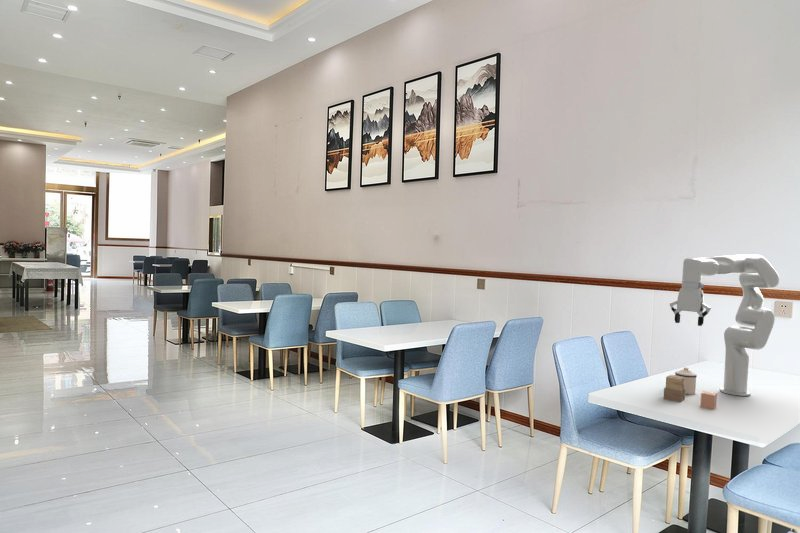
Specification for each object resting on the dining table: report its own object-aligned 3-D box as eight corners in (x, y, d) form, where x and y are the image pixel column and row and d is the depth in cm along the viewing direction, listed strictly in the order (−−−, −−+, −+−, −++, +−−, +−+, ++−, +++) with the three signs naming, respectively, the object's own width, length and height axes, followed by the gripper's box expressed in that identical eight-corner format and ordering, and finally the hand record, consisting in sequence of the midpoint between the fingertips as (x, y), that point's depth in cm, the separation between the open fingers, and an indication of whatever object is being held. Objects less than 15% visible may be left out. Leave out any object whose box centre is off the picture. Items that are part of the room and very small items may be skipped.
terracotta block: (702, 404, 237) (703, 391, 236) (716, 407, 233) (716, 393, 233) (700, 407, 233) (701, 393, 233) (713, 409, 230) (714, 395, 229)
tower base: (667, 396, 249) (668, 385, 249) (684, 399, 245) (685, 388, 245) (663, 399, 244) (664, 388, 244) (680, 402, 239) (681, 391, 239)
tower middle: (669, 386, 248) (669, 375, 248) (683, 388, 244) (684, 377, 244) (665, 388, 244) (666, 377, 243) (680, 390, 240) (681, 379, 240)
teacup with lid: (697, 392, 259) (698, 367, 259) (693, 396, 252) (695, 370, 251) (669, 388, 266) (670, 363, 266) (665, 391, 259) (666, 366, 259)
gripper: (715, 287, 242) (712, 326, 242) (675, 284, 255) (672, 321, 256) (708, 287, 237) (705, 327, 237) (667, 284, 251) (665, 322, 251)
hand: (688, 324), depth 247 cm, fingers open, 9 cm apart
